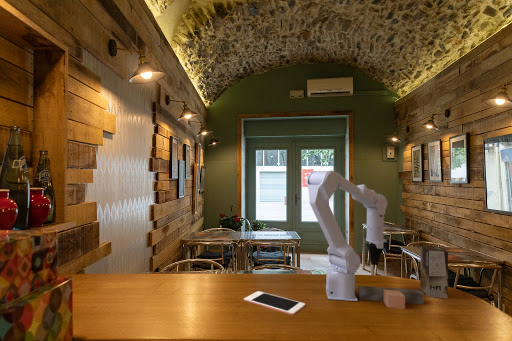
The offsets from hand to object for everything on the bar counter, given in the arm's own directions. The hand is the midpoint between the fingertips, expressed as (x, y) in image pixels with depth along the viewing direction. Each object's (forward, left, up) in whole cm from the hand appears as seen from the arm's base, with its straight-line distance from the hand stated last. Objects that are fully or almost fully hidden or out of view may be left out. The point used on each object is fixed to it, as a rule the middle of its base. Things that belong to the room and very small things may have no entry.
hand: (374, 264), depth 109 cm
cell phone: (-35, -18, -10) cm, 41 cm away
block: (+3, -12, -10) cm, 16 cm away
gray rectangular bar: (+3, -8, -9) cm, 13 cm away
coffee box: (+21, +2, -10) cm, 23 cm away
